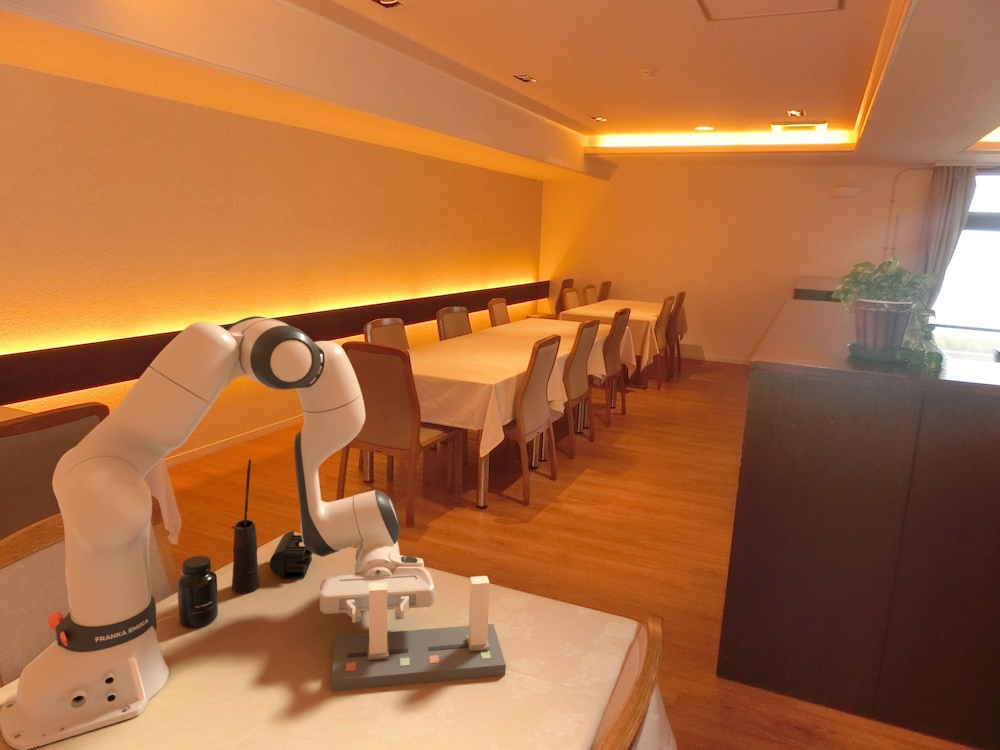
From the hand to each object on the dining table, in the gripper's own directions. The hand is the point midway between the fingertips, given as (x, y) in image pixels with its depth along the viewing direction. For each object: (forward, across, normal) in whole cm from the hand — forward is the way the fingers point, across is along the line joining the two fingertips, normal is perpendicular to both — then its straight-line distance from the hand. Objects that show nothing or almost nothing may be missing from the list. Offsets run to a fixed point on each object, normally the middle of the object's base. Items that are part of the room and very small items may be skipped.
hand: (378, 617), depth 109 cm
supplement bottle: (-19, -34, +10) cm, 40 cm away
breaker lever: (-1, +18, +7) cm, 19 cm away
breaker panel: (-1, +7, +10) cm, 12 cm away
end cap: (-36, -19, +10) cm, 42 cm away
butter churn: (-28, -28, +10) cm, 41 cm away
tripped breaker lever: (-1, 0, +7) cm, 7 cm away
